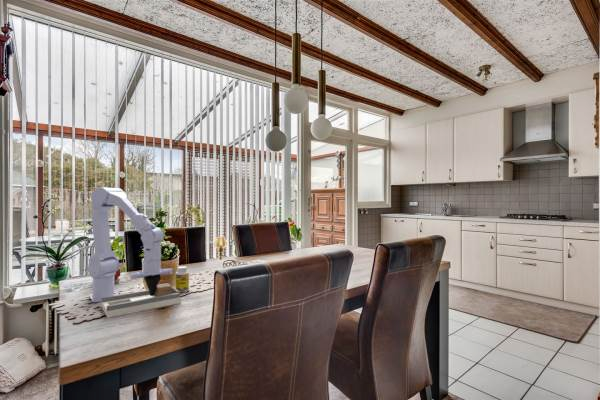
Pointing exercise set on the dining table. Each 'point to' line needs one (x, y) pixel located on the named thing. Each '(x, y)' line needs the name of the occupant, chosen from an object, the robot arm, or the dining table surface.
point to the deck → (137, 302)
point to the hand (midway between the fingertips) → (151, 295)
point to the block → (163, 289)
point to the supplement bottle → (182, 279)
